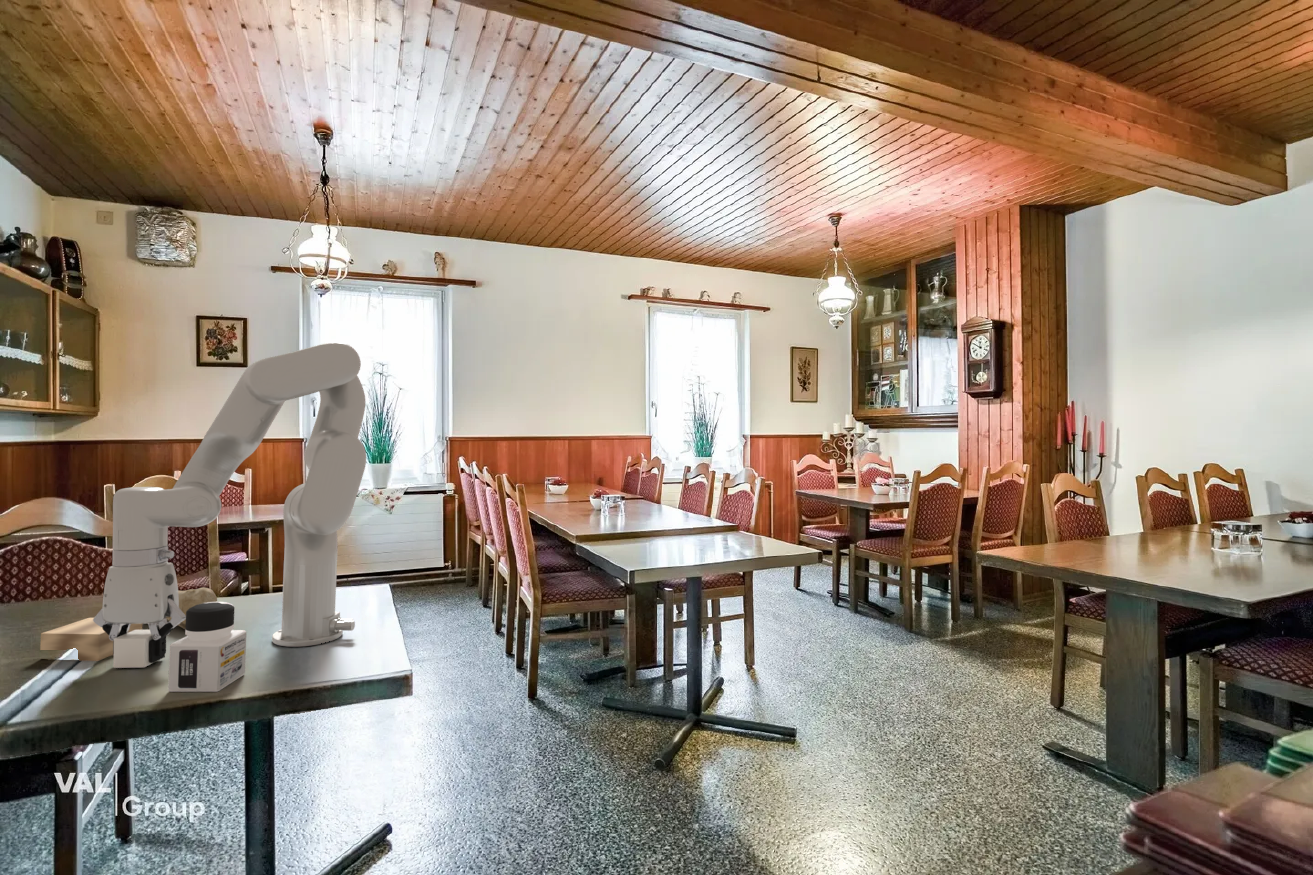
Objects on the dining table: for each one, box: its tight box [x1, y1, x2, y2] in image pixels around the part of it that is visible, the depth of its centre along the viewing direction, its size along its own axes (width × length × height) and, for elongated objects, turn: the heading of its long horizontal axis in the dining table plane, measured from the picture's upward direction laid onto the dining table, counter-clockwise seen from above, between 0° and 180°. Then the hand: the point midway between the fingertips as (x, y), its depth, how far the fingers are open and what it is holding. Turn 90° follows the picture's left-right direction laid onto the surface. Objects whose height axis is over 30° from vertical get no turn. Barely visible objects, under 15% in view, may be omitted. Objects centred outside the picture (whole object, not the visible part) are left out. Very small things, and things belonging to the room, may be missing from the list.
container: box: [167, 601, 247, 693], centre depth 104 cm, size 8×8×13 cm
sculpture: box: [166, 587, 218, 630], centre depth 134 cm, size 9×17×10 cm
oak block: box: [39, 617, 143, 662], centre depth 117 cm, size 10×10×5 cm
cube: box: [113, 629, 166, 669], centre depth 111 cm, size 5×5×5 cm
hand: (139, 659), depth 111 cm, fingers closed on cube, 5 cm apart
